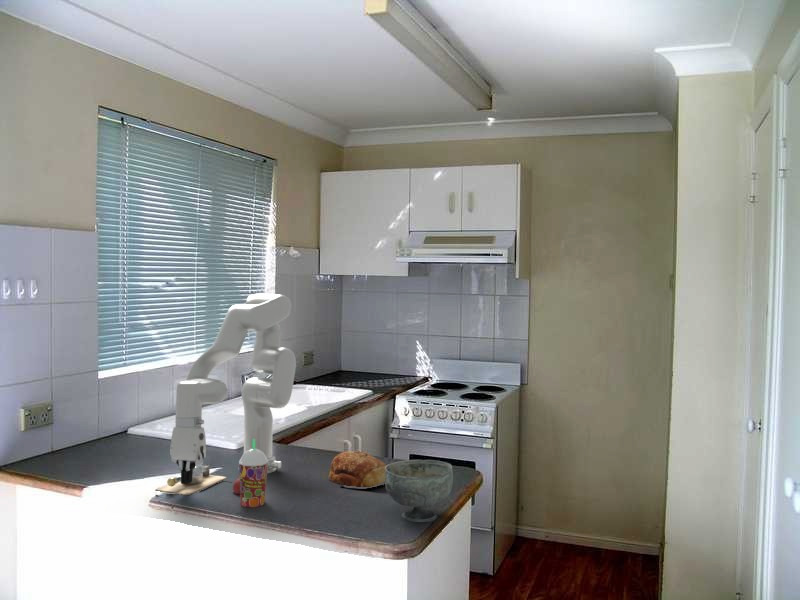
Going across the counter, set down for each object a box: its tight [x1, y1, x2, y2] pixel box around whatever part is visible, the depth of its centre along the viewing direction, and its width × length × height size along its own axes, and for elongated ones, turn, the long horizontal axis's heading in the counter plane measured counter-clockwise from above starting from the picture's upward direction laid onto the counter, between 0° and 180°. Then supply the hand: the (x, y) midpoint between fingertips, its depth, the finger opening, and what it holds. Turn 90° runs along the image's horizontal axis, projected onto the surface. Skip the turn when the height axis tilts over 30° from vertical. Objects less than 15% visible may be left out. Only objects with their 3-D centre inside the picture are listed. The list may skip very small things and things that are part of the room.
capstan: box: [166, 464, 206, 486], centre depth 212 cm, size 18×6×6 cm, turn 160°
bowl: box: [384, 459, 454, 523], centre depth 191 cm, size 20×19×15 cm
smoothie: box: [238, 439, 268, 508], centre depth 197 cm, size 8×8×20 cm
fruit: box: [232, 477, 240, 495], centre depth 207 cm, size 6×6×8 cm
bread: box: [328, 450, 388, 487], centre depth 225 cm, size 20×18×10 cm
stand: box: [154, 464, 228, 496], centre depth 214 cm, size 12×20×7 cm, turn 160°
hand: (186, 482), depth 205 cm, fingers closed
